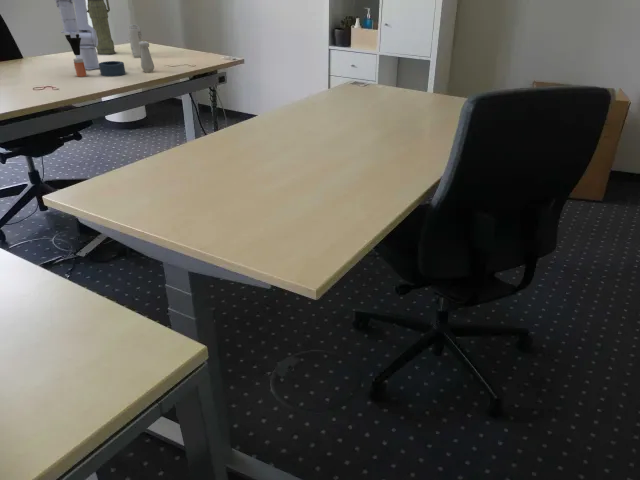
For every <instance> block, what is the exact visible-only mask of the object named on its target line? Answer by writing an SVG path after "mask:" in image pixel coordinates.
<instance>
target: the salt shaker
mask: <svg viewBox="0 0 640 480" xmlns="http://www.w3.org/2000/svg"><path fill="white" fill-rule="evenodd" d="M139 46H140V47H141V57H140V68H141V69H142V71H143V72H144V73H153V72H154V69H155V64H154V61H153V58H152V55H151V52H150V49H149V48H150V43H149V42H148V41H146V40H142V41H141V42H139Z"/></svg>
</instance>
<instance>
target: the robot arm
mask: <svg viewBox="0 0 640 480" xmlns="http://www.w3.org/2000/svg"><path fill="white" fill-rule="evenodd" d="M54 1H55V4H56V7H57V8H58V11H59V16H60V20H61V24H62V28H63V30H61V31H60V32H61V34H65V35H64V37H65V40H66V41H67V42H68V44H69V45H70V48H71V50H72V53H73V55H74V56H75V59H77V58H81V59H83V62H84V65H85V70H89V71H90V70H96V69H100V67H99V63H100V62H99V58H98V53H97V49H96V47H97V45H98V38H97V35H96V31H95V29H94V28H93V26H92V25H90V23H89V17H88V16H89V15H88V12H87V11H88V7H87V1H86V0H54Z"/></svg>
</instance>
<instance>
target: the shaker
mask: <svg viewBox="0 0 640 480" xmlns="http://www.w3.org/2000/svg"><path fill="white" fill-rule="evenodd" d="M72 61H73V66H74V70H75V74H76V77H79V78H83V77H88V74H87V71H86V70H87V69H85V65H84V62H83V59H81V58H77V59H76V58H73V59H72Z"/></svg>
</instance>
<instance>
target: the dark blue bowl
mask: <svg viewBox="0 0 640 480" xmlns="http://www.w3.org/2000/svg"><path fill="white" fill-rule="evenodd" d="M99 67H100V68H99V72H100V75H101V76H104V77H120V76H123V75H126V67H125V63H124V62H123V61H119V60H110V61H109V60H108V61H107V60H106V61H101V62H99Z"/></svg>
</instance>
